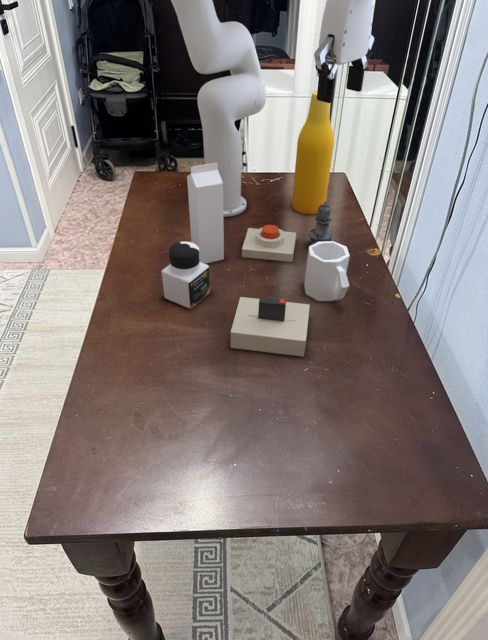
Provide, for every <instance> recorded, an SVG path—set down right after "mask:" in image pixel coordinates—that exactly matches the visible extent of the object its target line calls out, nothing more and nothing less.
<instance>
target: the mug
mask: <svg viewBox="0 0 488 640" xmlns="http://www.w3.org/2000/svg"><path fill="white" fill-rule="evenodd" d="M350 255H351V254H350V252H349V250H348V246H346V245H344V244H341V243H338V242H336V241H334V240H333V241H332V240H331V241H325V242H317V243H315V244H313V245H311V246H310V247H309V246H308V251H307V259H306V268H305V275H304V284H303V286H304V287H303V288H304V293H305V295H306V296H308V297H310V298H312V299H314V300H316V301H317V302H333V301H339V300H340V301H341V300H343V299H344V298H345V297H346V294H347V292H348V289H349V288H350V282H349V279H348V274H347V272H348V267H349V261H350Z"/></svg>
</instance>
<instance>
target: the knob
mask: <svg viewBox="0 0 488 640" xmlns="http://www.w3.org/2000/svg"><path fill="white" fill-rule="evenodd" d="M258 299H259V311H258V318H259V319H267V320H276V321H284V319H285V310H286V302H287V300H286V299H284V298H280V299H279V298H270V297H262V296H260V297H259V298H258Z"/></svg>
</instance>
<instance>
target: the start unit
mask: <svg viewBox="0 0 488 640" xmlns="http://www.w3.org/2000/svg"><path fill="white" fill-rule="evenodd" d="M296 240H297V232H295V231H284V230H283V229H281V228H279V236H278V238H275V239H266V238H264V237H262V227H260V228H255V227H254V228H253V227H248V228H247V231H246V235H245V237H244V241H243V244H242V247H241V258H248V259H249V258H250V259H258V260H269V261H278V262H288V263H293V260H294V253H295V246H296Z"/></svg>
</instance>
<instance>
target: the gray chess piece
mask: <svg viewBox="0 0 488 640" xmlns="http://www.w3.org/2000/svg"><path fill="white" fill-rule="evenodd" d="M331 211H332V208H331V206H330V205H329V204H328V202H327V200H326V201H325V202H324V204H322V205H320V206H319V208H318V214H316V215H317V216H316V217H315V218H314V220H315V227H314V228H312V229H310V230H309V232H308V236H309V239H310V242H309V243H308V248H309V247H310V246H311V245H313V244H315V243H317V242H325V241H332V239H333V238H334V233H333V231H331V230H330V229H329V227H330V223H331V221H332V219H331V217H330V216H331Z"/></svg>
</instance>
